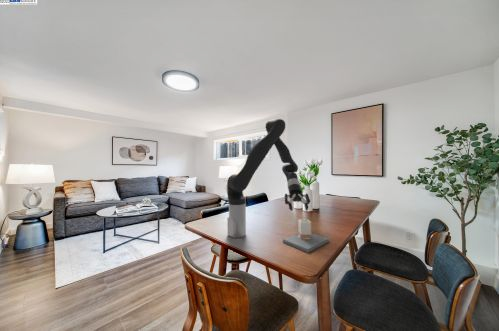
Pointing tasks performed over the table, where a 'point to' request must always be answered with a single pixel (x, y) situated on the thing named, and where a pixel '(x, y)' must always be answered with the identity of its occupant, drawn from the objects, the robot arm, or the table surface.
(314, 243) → the pin board
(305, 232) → the sleeve
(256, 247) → the table surface
